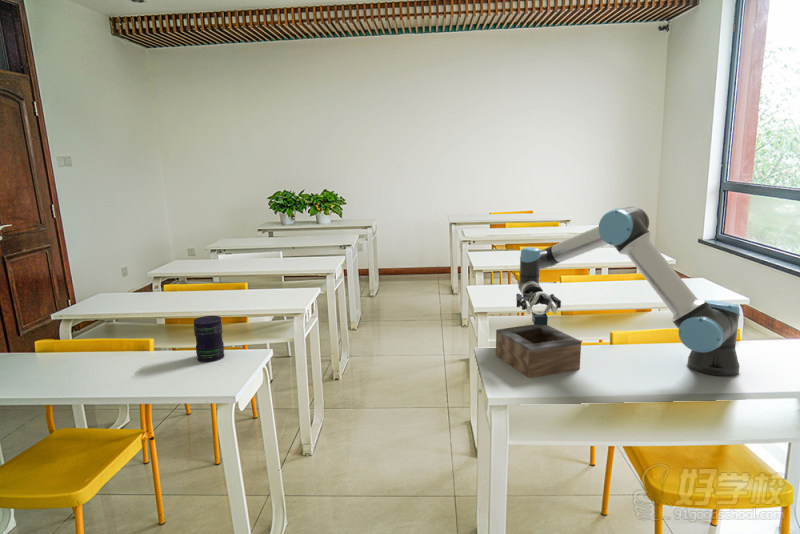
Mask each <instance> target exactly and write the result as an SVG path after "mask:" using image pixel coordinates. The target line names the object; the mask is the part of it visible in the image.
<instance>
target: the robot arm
mask: <svg viewBox="0 0 800 534" xmlns="http://www.w3.org/2000/svg"><path fill="white" fill-rule="evenodd" d="M649 227H650V219H649V216H648V214H647V213H646V211H644V210H643V209H642V208H640V207H637V206H627V207H623V208H615V209H612V210H609V211H607V212H606V213H604V214H603V215H602V217H601V218H600V220H599V222H598V226H596V227H593V228H592V229H590V230H586V231H585V232H582V233H580V234H578V235H575V236H572V237H570V238H568V239H565V240H563V241H561V242H558V243H556V244H554V245H551V246H548V247H546V248H543V249H540V248H538V247H531V246H530V247H523V248H522V249H521V250H520V257H519V260H520V262H519V263H520V264H519V280H518V285H517V286H518V289H519V291H520V293H521V294H520V293H516V295H515V296H516V297H515V298H516V299H515V300H516V308H520V307H521V310H522V311H526V313H527V314H531V309H530V304H529V299H530V297H531V296H532V295H533V294H534V293H535V292H536V293H537V292H544V290H543V288H542V287H541V285H540V270H542V269H546V268H550V267H555V266H556V265H557V264H560V263H562V262H565V261H567V260H570V259H573V258H576V257H577V256H578V257H579V256H581V255H584V254H586V253H588V252H592V251H593V250H596V249H599V248H601V247H604V246H607V245H611V246H613V247H614V248H615V249H616V250H617V251H618V253H619V254H620V255H626V256H627V257H628V258H629V259H630V261H631V262H632V263H633V264H634V266H635V267H636V269H637V270H638V271H639V272H640V274H641V275H642V276H643V278H645V280H646V281H647V282H648V284H649V285H650V287H651V288H652V289H653V290H654V291H655V293H656V294H657V295H658V296H659V298H660V299H661V301H662V302H664V304H665V306H666V307H667V308H668V309H669V311H670V312H671V313H672V320H671V321H672V322H673V324H674V325H675V326H676V328H677V329H678V337H679V340H680V342H681V344H683V345H684V346H685V347H686V348H687V349H689V350H690V353H689V355H688V357H687V366H688V367H689V368H690V369H693V370H694V371H697V372H700V373H703V374H707V375H711V376H718V377H732V376H736V375H738V374H739V373H740V363H739V359H738V354H737V351H736V344H737V343H736V342H737V336H738V328H739V321H740V320H739V319H740V318H739V317H740V316H741V314H740V306H739V305H738V304H736V303H731V302H726V301H719V300H712V299H711V300H709V299H704V300H703V299H699V298H697V296H696V295H695V294H694V293H693V291H692V290H691V289H690V288H689V286H688V285H687V284H686V283H685V282H684V280H683V279H682V278H681V276H679V274H678V273H677V272H676V271H675V270H674V268H673V267H672V265H671V264H670V262H668V261H667V260H666V258H665V257H664V256H663V255H662V253H661V251H660V250H658V248H657V247H656V246H655V244H653V242H652V240H651V238H650V237H651V234H652V233H651V232H650V230H649ZM548 295H549V296H550V297H551V299H552V306H551V308H550V310H551V311H552V313H553V315H556V314H557V310H558V309H561V308H562V300H561V299H559V298H557V297H556V296H555V294H554V293H551V294H548ZM549 296H547V295H545V294H540V296H539V298H538V300H537V302H536V303H535V304H534V305H533V306H537V305H539V304H540V305H546V307H547V306H548V304H549V301H550V298H549Z"/></svg>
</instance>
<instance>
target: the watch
mask: <svg viewBox="0 0 800 534" xmlns="http://www.w3.org/2000/svg"><path fill="white" fill-rule="evenodd" d="M540 294H545V295H546V296H549V295H550V294H549V293H547V292H546V291H543V292H537V293H536V292H535V293H534V294H533V295H532V296H531V297H530V299H529V304H530V312H531V314H532V315H531V316H532V317H531V320H532V322H533V324H534V325H548V318H549V317H548V315H547V314H548V313H549V311H550V310H551V306H552V299H551V297H550V296H549V298H550V301H549V304H548V306H547V305H546V307H545V308H544V310H543V311H534V309H533V306H535V305H534V304H535V303H536V302H537V300H538V298H539V296H540Z"/></svg>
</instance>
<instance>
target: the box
mask: <svg viewBox="0 0 800 534" xmlns="http://www.w3.org/2000/svg"><path fill="white" fill-rule="evenodd" d="M495 332H496V333H495V335H496V336H495V356H496V357H497V358H499V359H501V361H503V362H505V363H506V364H507V365H509V366H511V367H512V368H514V369H515V370H516V371H518V372H520V373H521V374H523V375H524V376H526V377H527V378H529V379H533V378H538V377H543V376H547V375H548V376H549V375H555V374H559V373H560V374H561V373H565V372H571V371H577V370H580V368H581V356H582V355H581V353H582V352H581V351H582V341H581V340H580V339H577V338H575V337H573V336H571V335H569V334H567V333H564V332H563V331H560V330H558V329H556V328H554V327H552V326H550V325H549V324H547V325H534V323H533V324H528V325H527V324H526V325H519V326H513V327H512V326H511V327H506V328H505V327H503V328H498V329H496V330H495Z"/></svg>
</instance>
